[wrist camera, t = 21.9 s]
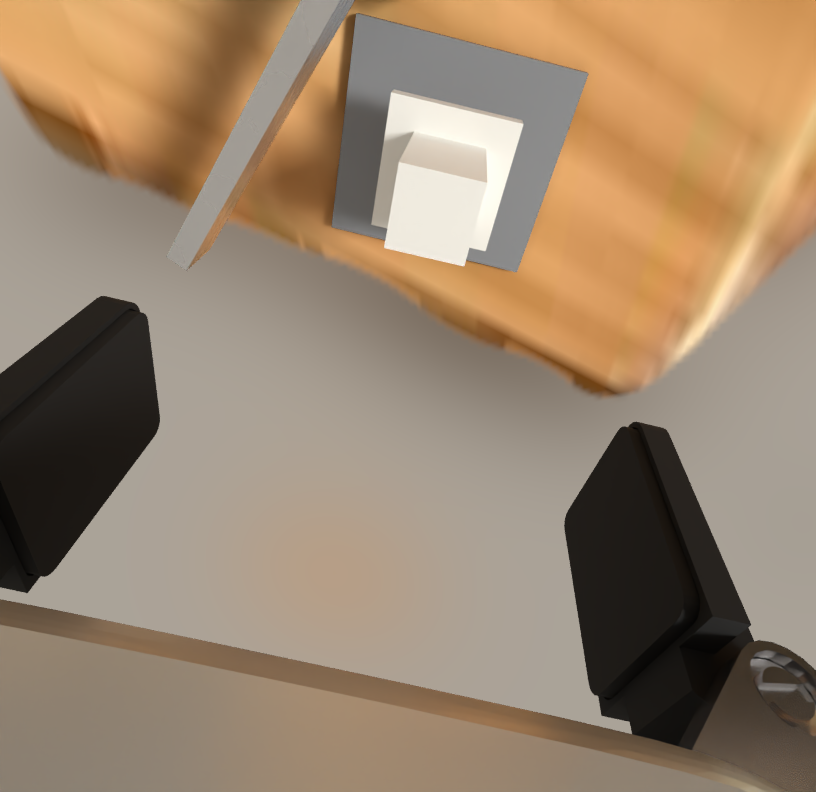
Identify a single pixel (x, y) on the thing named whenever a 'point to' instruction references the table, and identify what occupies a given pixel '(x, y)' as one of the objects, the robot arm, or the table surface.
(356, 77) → the mat
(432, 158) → the plug
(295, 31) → the grey long bar
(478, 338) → the table surface
